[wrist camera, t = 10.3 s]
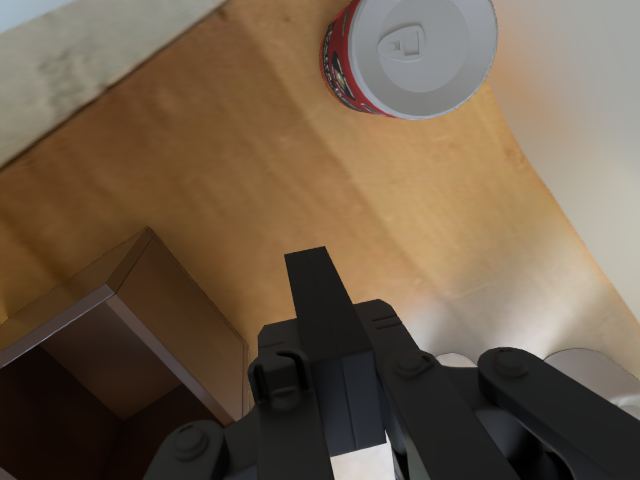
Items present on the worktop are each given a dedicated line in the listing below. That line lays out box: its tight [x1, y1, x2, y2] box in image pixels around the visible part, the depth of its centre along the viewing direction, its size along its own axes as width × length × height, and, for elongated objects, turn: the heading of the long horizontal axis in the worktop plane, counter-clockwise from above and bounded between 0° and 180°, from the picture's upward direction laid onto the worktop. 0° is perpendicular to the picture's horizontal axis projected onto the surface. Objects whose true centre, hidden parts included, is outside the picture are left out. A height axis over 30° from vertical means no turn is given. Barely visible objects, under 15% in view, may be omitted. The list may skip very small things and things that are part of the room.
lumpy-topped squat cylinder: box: [544, 349, 640, 420], centre depth 43 cm, size 10×13×9 cm
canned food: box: [319, 0, 498, 120], centre depth 27 cm, size 8×8×11 cm
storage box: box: [0, 226, 249, 480], centre depth 31 cm, size 14×14×11 cm
